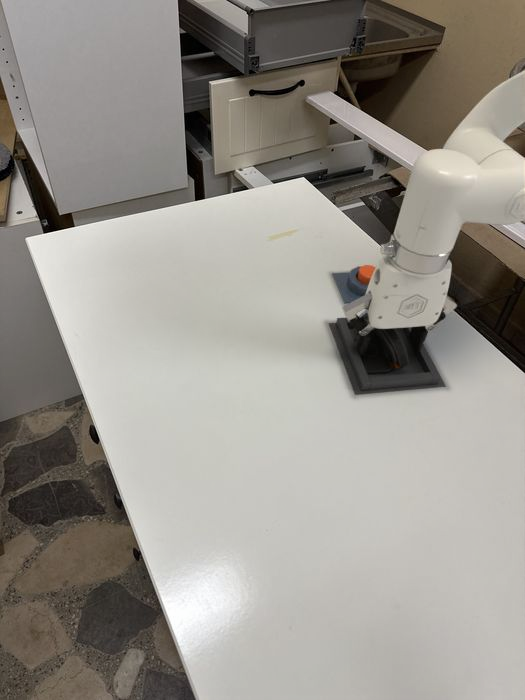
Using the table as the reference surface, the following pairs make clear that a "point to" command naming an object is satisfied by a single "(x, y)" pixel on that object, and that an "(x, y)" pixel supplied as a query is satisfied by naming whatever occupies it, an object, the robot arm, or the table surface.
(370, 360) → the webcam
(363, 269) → the power button
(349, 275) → the button base
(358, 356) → the dock
